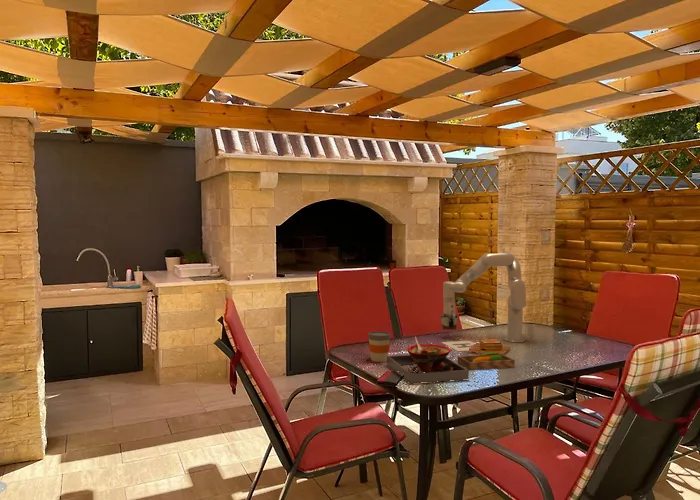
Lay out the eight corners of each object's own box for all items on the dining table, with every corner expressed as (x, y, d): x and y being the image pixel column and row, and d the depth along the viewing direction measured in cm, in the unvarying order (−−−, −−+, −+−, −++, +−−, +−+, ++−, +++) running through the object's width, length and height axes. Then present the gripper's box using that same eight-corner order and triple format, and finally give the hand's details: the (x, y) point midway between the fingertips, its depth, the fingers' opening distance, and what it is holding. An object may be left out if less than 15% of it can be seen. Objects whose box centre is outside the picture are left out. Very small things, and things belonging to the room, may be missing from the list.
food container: (457, 328, 367) (457, 313, 367) (458, 329, 361) (458, 315, 360) (439, 328, 368) (439, 313, 367) (440, 329, 362) (440, 315, 361)
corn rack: (500, 360, 306) (501, 353, 306) (514, 367, 293) (514, 360, 293) (457, 363, 299) (457, 356, 299) (469, 370, 286) (469, 362, 286)
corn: (505, 352, 295) (477, 355, 286) (506, 365, 295) (477, 370, 286) (496, 350, 302) (468, 353, 293) (496, 363, 302) (468, 367, 293)
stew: (399, 364, 296) (399, 335, 295) (440, 362, 301) (440, 334, 300) (415, 379, 268) (415, 347, 268) (460, 377, 273) (460, 346, 272)
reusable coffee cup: (374, 363, 297) (375, 336, 296) (364, 358, 308) (364, 332, 307) (394, 361, 303) (394, 334, 302) (382, 355, 314) (383, 330, 313)
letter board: (469, 341, 355) (469, 340, 355) (487, 349, 332) (487, 348, 332) (441, 342, 350) (441, 341, 350) (458, 351, 327) (458, 350, 327)
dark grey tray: (439, 362, 301) (439, 353, 301) (468, 380, 268) (468, 370, 267) (386, 365, 294) (387, 356, 293) (410, 384, 260) (410, 374, 260)
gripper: (459, 301, 355) (460, 328, 356) (448, 297, 372) (448, 323, 373) (449, 301, 353) (449, 329, 354) (438, 298, 370) (438, 324, 371)
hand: (449, 326), depth 363 cm, fingers closed on food container, 5 cm apart
